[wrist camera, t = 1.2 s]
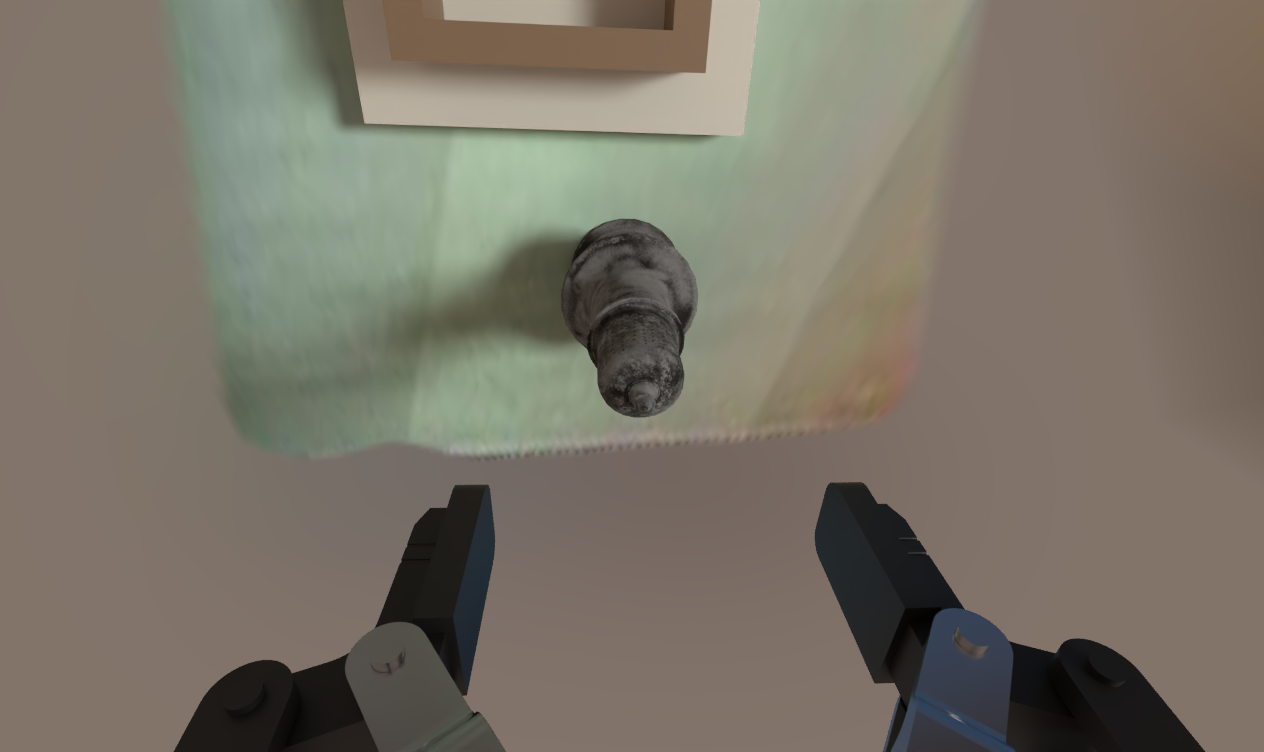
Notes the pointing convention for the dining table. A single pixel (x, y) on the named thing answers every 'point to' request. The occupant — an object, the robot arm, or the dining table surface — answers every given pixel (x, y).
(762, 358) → the dining table surface
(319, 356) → the dining table surface
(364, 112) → the shaker stand
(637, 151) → the dining table surface
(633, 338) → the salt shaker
